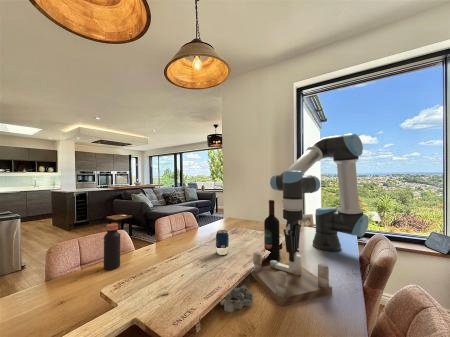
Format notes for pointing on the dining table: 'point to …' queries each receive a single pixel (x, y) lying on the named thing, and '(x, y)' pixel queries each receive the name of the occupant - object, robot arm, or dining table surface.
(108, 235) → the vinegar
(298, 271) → the hinged leg
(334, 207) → the robot arm
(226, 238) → the soda can
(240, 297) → the egg carton
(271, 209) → the wine bottle
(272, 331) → the dining table surface
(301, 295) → the stool seat
